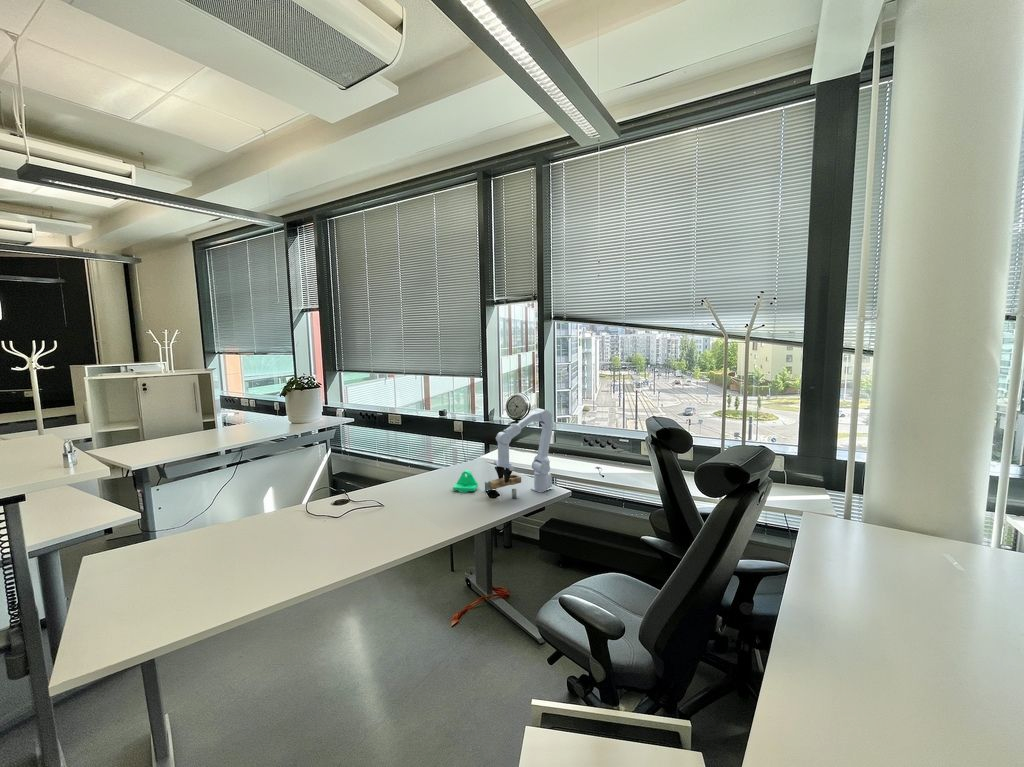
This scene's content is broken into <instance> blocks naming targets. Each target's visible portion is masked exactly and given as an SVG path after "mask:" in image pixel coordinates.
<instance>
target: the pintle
mask: <svg viewBox="0 0 1024 767" xmlns="http://www.w3.org/2000/svg"><path fill="white" fill-rule="evenodd" d="M517 490H518V489H516V488H511V499H517V498H518V497H517Z"/></svg>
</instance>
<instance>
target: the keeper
mask: <svg viewBox="0 0 1024 767" xmlns="http://www.w3.org/2000/svg"><path fill="white" fill-rule="evenodd" d="M492 480H493V479H489V480H486V481H484V492H486V491H487V490H489V489H492V488H489V487H488V481H492Z"/></svg>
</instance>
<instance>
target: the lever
mask: <svg viewBox="0 0 1024 767" xmlns="http://www.w3.org/2000/svg"><path fill="white" fill-rule="evenodd" d="M491 480H492V481H489V480H487V481H488V487H489V488H492V489H496V490H497V489H500V488H504V487H508V486H514V485H518V484H521V483H522V476H520V475H517V474H514V473H511V475H510V479H509V482H507V483H505V481H504V476H503V478H500V479H499V478H496V479H491Z"/></svg>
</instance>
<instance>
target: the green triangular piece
mask: <svg viewBox="0 0 1024 767" xmlns="http://www.w3.org/2000/svg"><path fill="white" fill-rule="evenodd" d="M478 487H479V483H478V482H477V480H476V479H475V477H474V475H473V474H472V472H471V470H469V469H465V470H464V471H463V472H462V473H461V476H460V477H459V478H458V480H457V481H456V483H455V484H453V486H452V490H453V491H458V492H459V493H468V492H474V491H476V490H477V489H478Z"/></svg>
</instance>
